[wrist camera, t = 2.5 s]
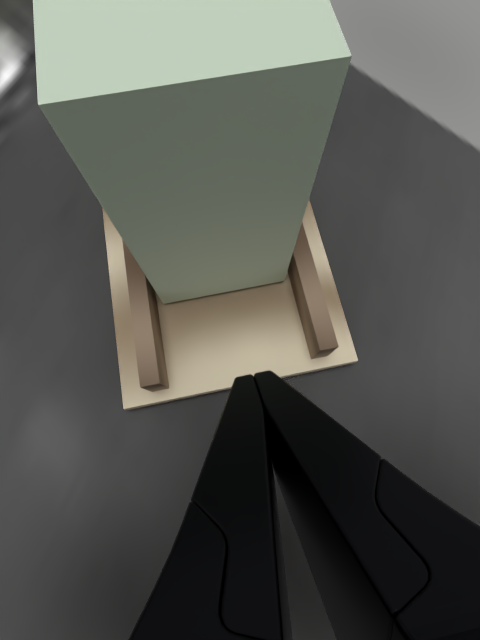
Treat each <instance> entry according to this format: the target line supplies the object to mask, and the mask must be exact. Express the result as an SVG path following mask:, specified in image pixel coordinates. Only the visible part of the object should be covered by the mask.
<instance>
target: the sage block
mask: <svg viewBox="0 0 480 640" xmlns="http://www.w3.org/2000/svg"><path fill="white" fill-rule="evenodd" d="M33 12H34V33H35V53H36V73H37V94H38V106H39V107H40V109H41V110H42V112H43V114H44V115H45V117H46V118H47V120H48V122H49V123H50V125H51V126H52V128H53V130H54V131H55V133H56V134H57V136H58V137H59V139H60V141H61V142H62V144H63V145H64V147H65V149H66V150H67V152H68V153H69V155H70V157H71V158H72V160H73V161H74V163H75V164H76V166H77V168H78V169H79V171H80V172H81V174H82V176H83V177H84V179H85V180H86V182H87V184H88V185H89V187H90V188H91V190H92V191H93V193H94V195H95V196H96V198H97V199H98V201H99V203H100V204H101V206H102V207H103V209H104V211H105V212H106V214H107V215H108V217H109V218H110V220H111V222H112V223H113V225H114V226H115V228H116V230H117V231H118V233H119V234H120V236H121V237H122V239H123V241H124V242H125V244H126V245H127V247H128V249H129V250H130V252H131V253H132V255H133V257H134V258H135V260H136V261H137V263H138V264H139V266H140V268H141V269H142V271H143V272H144V274H145V276H146V277H147V279H148V280H149V282H150V284H151V285H152V287H153V288H154V290H155V291H156V293H157V295H158V296H159V298H160V299H161V301H162V303H163V304H166V303H171V302H177V301H182V300H187V299H192V298H198V297H203V296H208V295H213V294H219V293H224V292H229V291H234V290H239V289H245V288H250V287H255V286H260V285H266V284H271V283H276V282H281V281H284V280H285V277H286V274H287V270H288V267H289V264H290V260H291V257H292V254H293V250H294V247H295V244H296V240H297V237H298V234H299V230H300V227H301V224H302V220H303V217H304V214H305V210H306V207H307V204H308V200H309V197H310V194H311V190H312V187H313V184H314V180H315V177H316V174H317V170H318V167H319V164H320V160H321V157H322V154H323V150H324V147H325V144H326V140H327V137H328V133H329V130H330V127H331V123H332V120H333V117H334V113H335V110H336V107H337V103H338V100H339V97H340V93H341V90H342V87H343V83H344V80H345V77H346V73H347V70H348V67H349V63H350V60H351V57H352V56H351V53H350V51H349V48H348V46H347V43H346V41H345V38H344V36H343V33H342V31H341V28H340V26H339V23H338V21H337V18H336V16H335V13H334V11H333V8H332V6H331V3H330V1H329V0H33Z"/></svg>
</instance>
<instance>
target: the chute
mask: <svg viewBox="0 0 480 640" xmlns="http://www.w3.org/2000/svg"><path fill="white" fill-rule="evenodd" d="M102 209H103V207H102ZM103 218H104V228H105V237H106V247H107V256H108V266H109V275H110V285H111V294H112V304H113V313H114V323H115V332H116V342H117V351H118V361H119V370H120V380H121V389H122V399H123V408H124V409H126V410H131V409H136V408H141V407H145V406H150V405H155V404H160V403H165V402H170V401H174V400H179V399H184V398H189V397H194V396H199V395H203V394H208V393H213V392H218V391H223V390H228V389H231V387H232V384H233V382H234V379H235V378H236V377H238V376H243V375H248V374H251V375H253V377H254V374H255V373H258V372H263V371H268V370H270V371H273V372H274V373H275V374H277V375H278V376H279V377H280V378H286V377H290V376H295V375H300V374H305V373H310V372H315V371H319V370H324V369H329V368H334V367H339V366H343V365H348V364H353V363H355V362H357V361H358V358H357V355H356V352H355V348H354V345H353V342H352V339H351V335H350V332H349V329H348V325H347V322H346V319H345V316H344V312H343V309H342V306H341V302H340V299H339V296H338V293H337V289H336V286H335V283H334V279H333V276H332V273H331V270H330V266H329V263H328V260H327V256H326V253H325V250H324V247H323V243H322V240H321V237H320V233H319V230H318V227H317V224H316V220H315V217H314V214H313V211H312V207H311V204H310V201H309V200H308V204H307V207H306V210H305V214H304V217H303V220H302V224H301V227H300V230H299V234H298V237H297V240H296V244H295V247H294V250H293V254H292V257H291V260H290V264H289V267H288V270H287V274H286V277H285V280H284V281H281V282H276V283H271V284H266V285H260V286H255V287H250V288H245V289H239V290H234V291H229V292H224V293H219V294H213V295H208V296H203V297H198V298H192V299H187V300H182V301H177V302H171V303H166V304H163V303H162V301H161V299H160V298H159V296H158V295H157V293H156V291H155V290H154V288H153V287H152V285H151V284H150V282H149V280H148V279H147V277H146V276H145V274H144V272H143V271H142V269H141V268H140V266H139V264H138V263H137V261H136V260H135V258H134V257H133V255H132V253H131V252H130V250H129V249H128V247H127V245H126V244H125V242H124V241H123V239H122V237H121V236H120V234H119V233H118V231H117V230H116V228H115V226H114V225H113V223H112V222H111V220H110V218H109V217H108V215H107V214H106V212H105V211H104V209H103Z"/></svg>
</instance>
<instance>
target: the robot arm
mask: <svg viewBox="0 0 480 640" xmlns="http://www.w3.org/2000/svg"><path fill="white" fill-rule="evenodd" d="M272 465H273V467H272ZM273 469H274V472H275V475H276V478H277V481H278V484H279V486H280V489H281V492H282V494H283V497H284V500H285V502H286V505H287V508H288V510H289V513H290V516H291V518H292V521H293V524H294V526H295V529H296V532H297V534H298V537H299V540H300V542H301V545H302V548H303V550H304V553H305V556H306V558H307V561H308V564H309V566H310V569H311V572H312V574H313V577H314V580H315V582H316V585H317V588H318V590H319V593H320V596H321V598H322V601H323V604H324V606H325V609H326V612H327V614H328V617H329V620H330V622H331V625H332V628H333V631H334V633H335V636H336V639H337V640H480V526H478V525H477V524H475V523H473V522H472V521H470V520H469V519H467V518H466V517H464V516H463V515H461V514H460V513H458V512H457V511H455V510H454V509H452V508H451V507H449V506H448V505H446V504H445V503H443V502H442V501H440V500H439V499H437V498H436V497H435V496H433V495H432V494H430V493H429V492H427V491H426V490H425V489H423V488H422V487H421V486H419V485H418V484H416V483H415V482H414V481H412V480H411V479H410V478H408V477H407V476H406V475H404V474H403V473H402V472H400V471H399V470H398V469H397V468H395V467H394V466H393V465H391V464H390V463H389V462H388V461H386V460H385V459H382V460H381V456H380V455H378V454H377V453H376V452H375V451H373V450H372V449H371V448H370V447H368V446H367V445H366V444H364V443H363V442H362V441H361V440H359V439H358V438H357V437H356V436H354V435H353V434H352V433H350V432H349V431H348V430H347V429H345V428H344V427H343V426H342V425H340V424H339V423H338V422H336V421H335V420H334V419H333V418H331V417H330V416H329V415H328V414H326V413H325V412H324V411H322V410H321V409H320V408H319V407H317V406H316V405H315V404H313V403H312V402H311V401H310V400H308V399H307V398H306V397H305V396H303V395H302V394H301V393H299V392H298V391H297V390H296V389H294V388H293V387H292V386H291V385H289V384H288V383H287V382H285V381H284V380H283V379H282V378H280V377H279V376H278V375H277V374H275V373H274V372H273V371H270V370H268V371H263V372H258V373H255V374H254V377H253V375H251V374H248V375H243V376H238V377H236V378H235V379H234V382H233V384H232V387H231V390H230V393H229V395H228V398H227V401H226V404H225V406H224V409H223V412H222V415H221V418H220V420H219V423H218V426H217V429H216V431H215V434H214V437H213V440H212V442H211V445H210V448H209V451H208V453H207V456H206V459H205V462H204V464H203V467H202V470H201V473H200V476H199V478H198V481H197V484H196V487H195V489H194V492H193V495H192V498H191V501H192V502H190V503H189V505H188V508H187V511H186V514H185V516H184V519H183V522H182V524H181V527H180V529H179V532H178V534H177V537H176V540H175V542H174V545H173V547H172V550H171V552H170V554H169V556H168V559H167V561H166V563H165V565H164V567H163V569H162V572H161V574H160V576H159V578H158V580H157V582H156V585H155V587H154V589H153V591H152V593H151V595H150V597H149V599H148V601H147V603H146V605H145V607H144V609H143V611H142V613H141V615H140V617H139V619H138V621H137V623H136V625H135V627H134V629H133V631H132V634H131V636H130V638H129V640H292V631H291V622H290V613H289V604H288V596H287V587H286V578H285V569H284V560H283V551H282V543H281V534H280V525H279V516H278V507H277V498H276V490H275V481H274V474H273Z"/></svg>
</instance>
